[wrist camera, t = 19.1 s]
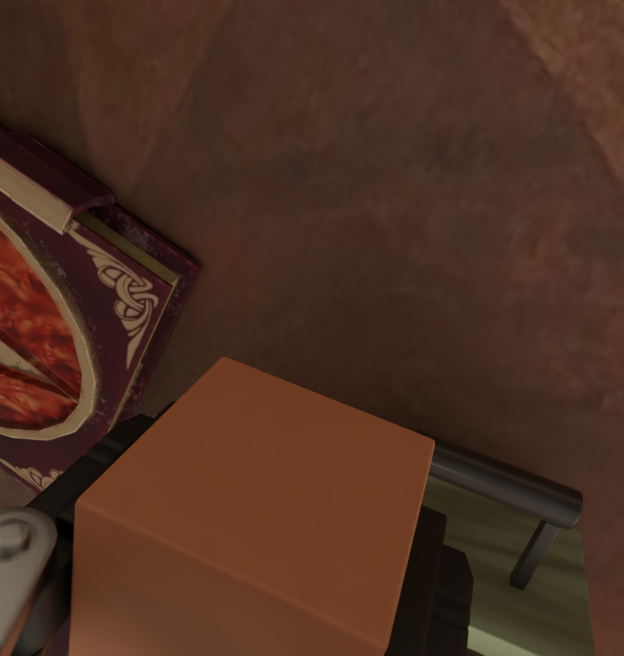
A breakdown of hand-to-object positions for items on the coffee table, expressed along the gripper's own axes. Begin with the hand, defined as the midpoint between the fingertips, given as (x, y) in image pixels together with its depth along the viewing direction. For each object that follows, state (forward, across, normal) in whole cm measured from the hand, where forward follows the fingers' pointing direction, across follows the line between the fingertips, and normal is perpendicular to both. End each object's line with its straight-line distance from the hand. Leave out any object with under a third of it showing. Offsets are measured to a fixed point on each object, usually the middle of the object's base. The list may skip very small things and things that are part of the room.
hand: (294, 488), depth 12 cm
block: (0, 0, 0) cm, 0 cm away
